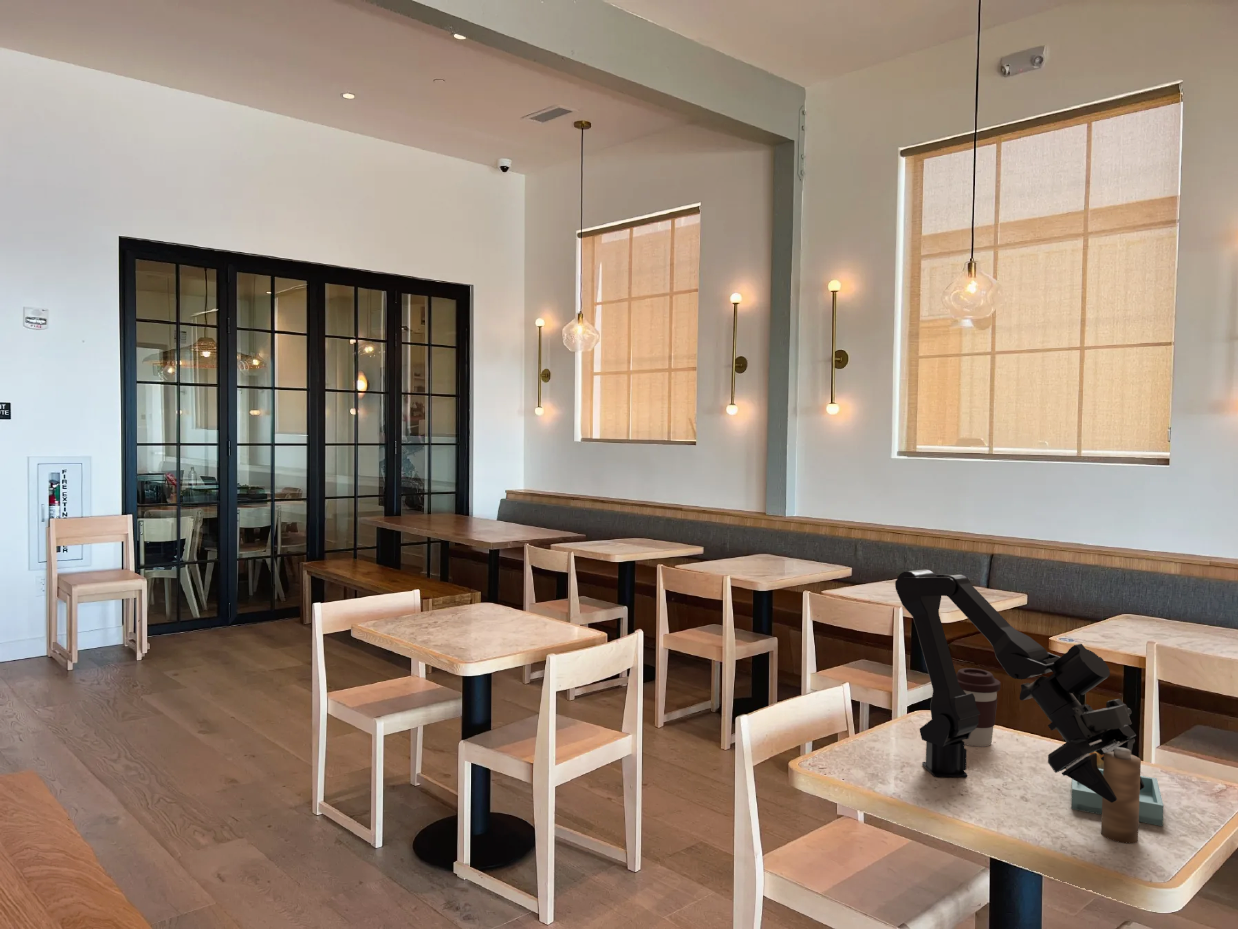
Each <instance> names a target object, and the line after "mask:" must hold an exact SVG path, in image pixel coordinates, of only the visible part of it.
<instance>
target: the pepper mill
mask: <svg viewBox="0 0 1238 929" xmlns="http://www.w3.org/2000/svg"><path fill="white" fill-rule="evenodd" d="M1141 763H1142V760H1141V758H1140V757H1138V756H1136V755H1134V754H1132V755H1131V751H1130V750H1129V749H1126V748H1121V747H1116V748H1114V752H1113V751H1112V752H1105V753H1104V767H1103V776H1104V778H1105V779H1106V781H1107V783H1108V784H1109V786H1110V787H1111V789H1112V790H1113V792H1114V794H1115V796H1116V798H1117V800H1116V801H1115V802H1113V803H1111V802H1109V801H1108V800H1106V799H1105V798H1103V797H1102V815H1101V828H1100V831H1101V832H1100V833H1101V835H1102V836H1103V837H1105V838H1106V839H1108V840H1110V841H1113V842H1116V843H1120V844H1131V845H1132V844H1135V843H1138V841H1139V824H1140V822H1139V798H1140V776H1141V769H1142V768H1141V765H1142V764H1141Z"/></svg>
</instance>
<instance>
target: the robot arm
mask: <svg viewBox="0 0 1238 929" xmlns="http://www.w3.org/2000/svg"><path fill="white" fill-rule="evenodd" d="M894 585H895V586H894V587H895V591H896V594H897V596H898V598H899V601H900V603H901V606H903V607H904V608H905V610H906V611H907V612H908V614H909V615H910V616H911V617H912V618H913V623H914V625H915V630H916V632H917V636H918V640H919V644H920V647H921V651H922V655H923V658H924V661H925V665H926V669H927V673H928V677H929V681H930V682H931V683H930V684H931V687H932V696H931V700H930V705H929V706H930V707H929V709H930V716H931V719H930V720H929V721H928V722H926V723H925V724H924V725H922V726H921V727H920V728H919V732H920V733H919V734H920V736H921V740H922V741H924V742H926V744H925V748H926V749H925V761H922V766H923V767H924V768H925V769H926V770H927V771H928V772H929V773H930V774H931V775H932V776H933V777H940V778H942V777H943V778H944V777H945V778H949V777H950V778H952V777H953V778H967V777H968V773H967V772H966V770H967V759H968V758H967V757H968V756H967V752H968V751H967V749H966V748H965V744H964V741H962V740H964V739H969V737H970V734H971V732H973V731H974V730H975V729H976V727H977V725H978V722H979V719H978V715H980V712H979V711H978V709H977V706H976V702H975V697H974V694H973V693H970V694H966V693H965V692H964V691H963V689H962V688H961V687H960V685H959V683H958V679H957V676H956V674H957V673H956V672H957V671H956V669H955V666H954V663H953V662H954V661H953V659H952V655H951V651H950V648H949V645H948V642H947V638H946V635H945V631H944V627H943V623H942V620H941V616H940V612H939V611H940V607H941V606H940V605H941V601H942V597H947V598H949V599H950V600H951V602H953V604H955V606H956V607H957V608H958V609H959V610H960V612H962V614H963V615H964V616H965V617H966V618H967V619H968V620H969V621H970V622H971V623H972V624H973V626H975V628H976V629H977V630H978V631H979V632H980V633H981V635H982V636H984V637H985V638H986V640H987V641H988V642H989V643H990V645H991V646H992V649H993V652H994V655H995V656H994V657H995V658H996V659H997V661H998V662H999V663H998V664H1000V665H1001V667H1002V668H1003V670H1004V672H1006V674H1007V675H1008V676H1009V677H1011V678H1012V679H1015V680H1025V679H1030V678H1033V677H1037V676H1039V677H1038V678H1037V679H1035V680H1034V681H1033V682H1031V683H1029V682H1026V683H1022V684H1020V693H1019V700H1020V701H1025V700H1030V699H1033V700H1034V701H1035V702H1036V703H1037V706H1038V707H1040V709H1041V710H1042V712H1043V713H1044V714H1045V716H1046V717H1047V719H1048V720H1049V721H1050V722H1051V723H1049V724H1047V727H1048V728H1049V729H1050V731H1055V730H1057V732H1058V733H1059V734H1060V736H1061V737H1062V738H1063V740H1064V741H1065V743H1064V744H1062V745H1060V746H1059V747H1058V748H1056V749H1054V750H1053V751H1051V753H1049V754H1047V756H1048V757H1047V763H1048V765H1049V766H1050V768H1051V769H1052V770H1053V772H1054V773H1055V774H1056V773H1058V772H1061V775H1062V776H1063V777H1064V776H1066V777H1069V778H1070V779H1071V780H1072V779H1073V780H1075V781H1077V782H1079V783H1080V784H1082V785H1084V786H1086V787H1087V788H1089V789H1090V790H1092V791H1094V792H1095V793H1097V794H1098V795H1100V796H1101V797H1103V798H1105V799H1106V800H1108V801H1109V802H1111V803H1113V802H1115V801H1116V800H1117V798H1116V796H1115V794H1114V792H1113V790H1112V789H1111V787H1110V786H1109V784H1108V783H1107V781H1106V779H1105V778H1104V776H1103V775H1102V773H1101V772H1100V770H1099V769H1098V767H1097V753H1099V754H1101V755H1103V754H1104V753H1105V752H1112V751H1113V752H1114V748H1116V747H1121V748H1126V749H1129V750H1130V751H1131V755H1133V753H1132V752H1133V746H1134V744H1135V742H1136V740H1135V738H1134V737H1136V736H1137V734H1136V733H1135V731H1134V730H1133V729H1132V728H1131V726H1130V725H1132V724H1133V722H1132V721H1131V718H1130V716H1131V714H1132V713H1133V712H1132V709H1131V708H1129V707H1128V705H1127V704H1126V703H1125V702H1123V701H1122V700H1121V698H1117V699H1111V700H1108V701H1106V703H1105V707H1103V708H1100V709H1093V708H1092V706H1091V705H1089V704H1087V703H1085V704H1081V702H1080V701H1079V700H1078V698H1076V696H1075V695H1074V694H1076V695H1078V696H1084V695H1085V694H1087V693H1088V692H1089V691H1091V690H1092V689H1094V688H1096V687H1097V686H1098V685H1099V684H1101V683H1102V682H1103V681H1104V680H1107V679H1108V678H1109V677H1111V676H1110V675H1111V670H1110V667H1109V666H1108V664H1107V663H1106V661H1105V660H1104V659H1103V658H1102V657H1101V656H1099V655H1098V654H1096V653H1095V652H1093V651H1091V649H1088V648H1086V647H1085V646H1084V645H1083V644H1082V643H1077V644H1073V645H1072V646H1071V647H1070V648H1069V649H1068V650H1067V652H1066V653H1064V654H1063V655H1061V656H1059V655H1056V654H1053V653H1051V652H1048V650H1046V648H1044V647H1043V646H1042V644H1040V643H1039V642H1037V641H1036V640H1034V639H1033V638H1032V637H1031V636H1029V635H1027V634H1025V633H1023V632H1021V631H1019V630H1017V629H1016V628H1014V627H1013V626H1012V625H1011V624H1010V622H1008V621H1007V620H1006V619H1005V618H1004V617H1003V616H1002V615H1001V614H1000V613H999V611H998V610H996V608H995V607H994V606H993V605H991V603H990V602H989V601H988V600H987V599H986V598H985V597H984V596H983V595H982V594H981V593H980V592H979V591H978V590H977V589H976V588H975V587H974V586H973V585H972V584H971V581H970V579H969V578H968V577H967V576H965V575H963V574H954V575H953V574H939V573H938V574H936V573H935V572H933V571H931V570H930V569H915V570H907V571H903V572H901V573H900V574H898V576H897V578H896V580H895V583H894ZM1051 672H1052V674H1050V676H1049V677H1047V676H1041V675H1043V674H1047V673H1051ZM1095 751H1096V752H1097V753H1094V754H1092V755H1089V753H1092V752H1095ZM1101 759H1102V760H1103V761H1104V756H1103V757H1102V758H1101ZM1141 776H1142V775H1140V790H1141V789H1143V788H1144V787H1145V786H1144V784H1143V781H1142V779H1141Z"/></svg>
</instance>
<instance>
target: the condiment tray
mask: <svg viewBox="0 0 1238 929" xmlns="http://www.w3.org/2000/svg"><path fill="white" fill-rule="evenodd" d="M1098 769H1099V768H1098ZM1099 770H1100V772H1101V773H1102V775H1103V769H1099ZM1140 776H1141V779H1142V781H1143V784H1144V786H1145V787H1144V788H1143V789H1141V790H1140V798H1139V823H1145V824H1149V825H1153V826H1154V825H1155V826H1159V827H1164V802H1163V801H1164V800H1163V797H1162V794H1161V790H1160V785H1159V782H1158V781H1159V780H1158V778H1157V777H1150V776H1145V775H1140ZM1070 808H1071V809H1072V810H1076V811H1081V812H1087V813H1091V814H1097V815H1101V816H1102V797H1101V796H1100V795H1098V794H1097V793H1095V792H1094V791H1092V790H1090V789H1089V788H1087V787H1086V786H1084V785H1082V784H1080V783H1079V782H1077V781H1075V780H1073V779H1072V778H1071V802H1070Z"/></svg>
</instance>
